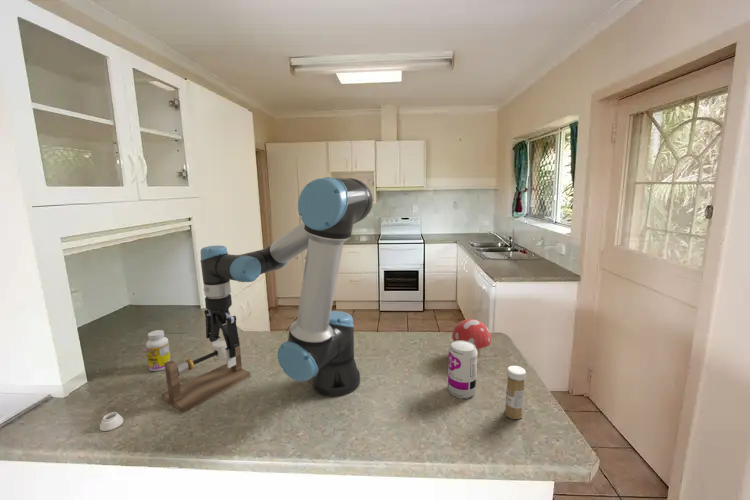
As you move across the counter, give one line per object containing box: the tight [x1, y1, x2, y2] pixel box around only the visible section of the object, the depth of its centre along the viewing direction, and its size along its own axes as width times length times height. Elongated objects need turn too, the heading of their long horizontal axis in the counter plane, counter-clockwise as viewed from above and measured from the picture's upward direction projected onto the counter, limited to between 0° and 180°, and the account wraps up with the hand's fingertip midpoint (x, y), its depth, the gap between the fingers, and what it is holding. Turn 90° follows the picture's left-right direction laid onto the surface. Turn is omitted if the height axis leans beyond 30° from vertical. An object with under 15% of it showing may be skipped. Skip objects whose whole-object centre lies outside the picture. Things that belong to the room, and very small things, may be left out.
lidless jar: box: [99, 411, 124, 432], centre depth 91 cm, size 5×3×5 cm
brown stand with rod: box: [161, 336, 252, 414], centre depth 107 cm, size 12×22×13 cm, turn 146°
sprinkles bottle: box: [504, 365, 527, 420], centre depth 92 cm, size 5×5×14 cm
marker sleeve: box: [211, 339, 227, 362], centre depth 111 cm, size 4×5×4 cm
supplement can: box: [447, 340, 478, 399], centre depth 103 cm, size 8×8×15 cm
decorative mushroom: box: [451, 318, 492, 360], centre depth 122 cm, size 13×13×15 cm
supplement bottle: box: [145, 329, 172, 372], centre depth 119 cm, size 7×7×13 cm
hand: (224, 362), depth 112 cm, fingers open, 7 cm apart
